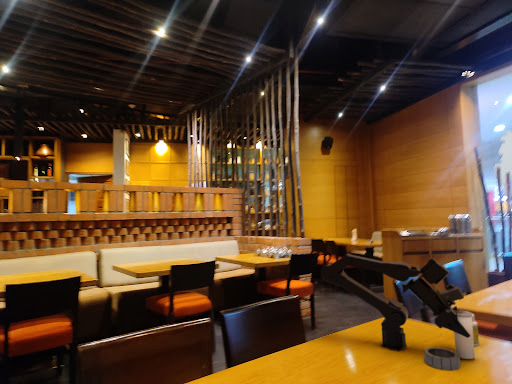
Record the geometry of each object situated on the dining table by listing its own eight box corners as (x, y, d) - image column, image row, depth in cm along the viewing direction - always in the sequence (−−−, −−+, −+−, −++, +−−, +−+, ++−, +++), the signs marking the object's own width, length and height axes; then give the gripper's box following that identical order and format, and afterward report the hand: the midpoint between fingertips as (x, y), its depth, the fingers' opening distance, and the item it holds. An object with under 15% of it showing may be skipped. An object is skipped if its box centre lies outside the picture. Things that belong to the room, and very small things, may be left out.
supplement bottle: (478, 347, 111) (476, 317, 112) (459, 344, 114) (457, 314, 115) (479, 342, 115) (477, 313, 116) (461, 339, 118) (459, 311, 119)
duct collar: (420, 363, 99) (420, 353, 99) (430, 355, 105) (430, 345, 106) (455, 373, 93) (454, 361, 93) (463, 362, 99) (462, 352, 99)
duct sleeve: (453, 356, 103) (450, 312, 104) (457, 351, 106) (454, 309, 107) (472, 360, 99) (469, 315, 100) (476, 355, 103) (473, 312, 104)
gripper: (444, 282, 99) (493, 325, 92) (445, 273, 115) (487, 310, 108) (416, 306, 102) (461, 350, 95) (421, 294, 118) (460, 331, 111)
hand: (468, 334), depth 103 cm, fingers closed on duct sleeve, 5 cm apart
